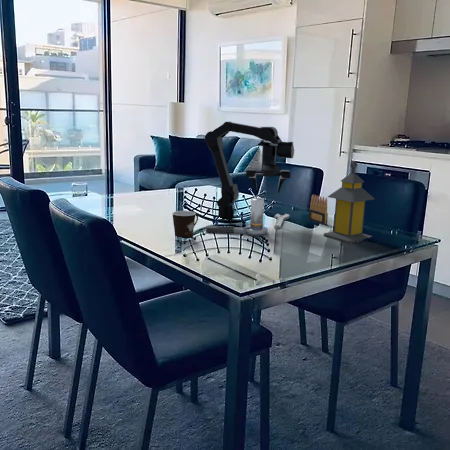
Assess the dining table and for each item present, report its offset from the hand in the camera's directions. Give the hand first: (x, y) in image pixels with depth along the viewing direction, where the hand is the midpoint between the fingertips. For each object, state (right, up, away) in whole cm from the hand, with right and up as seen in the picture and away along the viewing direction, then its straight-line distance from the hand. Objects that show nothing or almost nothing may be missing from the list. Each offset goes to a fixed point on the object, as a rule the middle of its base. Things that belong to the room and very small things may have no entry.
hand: (267, 193), depth 212 cm
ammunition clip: (+23, -13, +7) cm, 27 cm away
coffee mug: (-32, -19, -25) cm, 45 cm away
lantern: (+30, -19, -17) cm, 39 cm away
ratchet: (-13, -17, -15) cm, 26 cm away
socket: (-6, -15, -15) cm, 22 cm away
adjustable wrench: (+5, -13, +6) cm, 15 cm away
